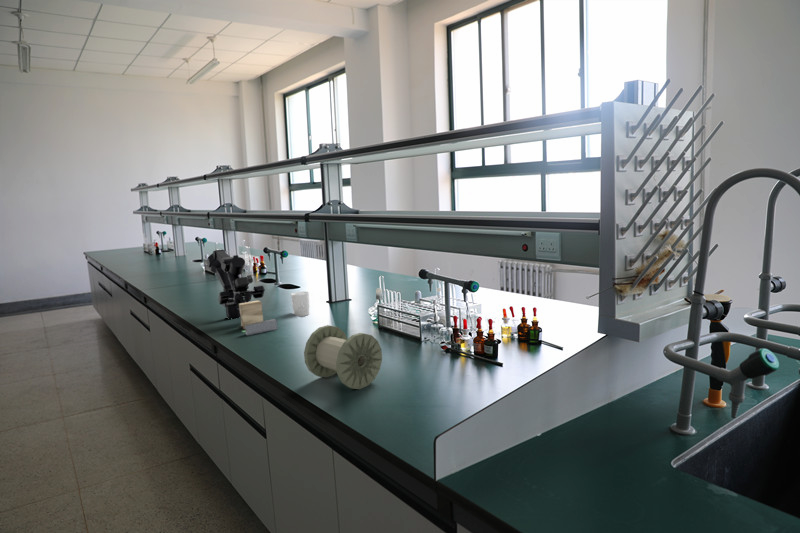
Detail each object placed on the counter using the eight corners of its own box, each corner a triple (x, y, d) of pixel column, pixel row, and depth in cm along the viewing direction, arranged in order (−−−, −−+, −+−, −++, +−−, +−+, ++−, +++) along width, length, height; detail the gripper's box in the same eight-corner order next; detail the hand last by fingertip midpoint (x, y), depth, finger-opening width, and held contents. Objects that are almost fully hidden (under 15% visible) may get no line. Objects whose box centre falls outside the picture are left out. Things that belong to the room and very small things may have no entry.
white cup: (301, 317, 229) (299, 295, 228) (289, 316, 234) (287, 294, 233) (314, 313, 235) (312, 292, 234) (302, 312, 240) (300, 290, 239)
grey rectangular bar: (245, 334, 203) (244, 324, 203) (275, 328, 210) (274, 318, 209) (247, 335, 201) (246, 325, 200) (277, 329, 208) (276, 319, 207)
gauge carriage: (237, 328, 213) (234, 304, 212) (260, 323, 218) (258, 300, 217) (240, 330, 210) (237, 305, 208) (263, 325, 215) (261, 301, 214)
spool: (306, 382, 150) (301, 332, 148) (347, 367, 161) (343, 320, 158) (342, 396, 139) (337, 341, 136) (383, 379, 149) (379, 328, 147)
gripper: (216, 273, 215) (227, 303, 207) (261, 266, 225) (272, 295, 217) (214, 289, 222) (224, 319, 215) (257, 282, 232) (268, 310, 225)
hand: (247, 310), depth 218 cm, fingers closed
